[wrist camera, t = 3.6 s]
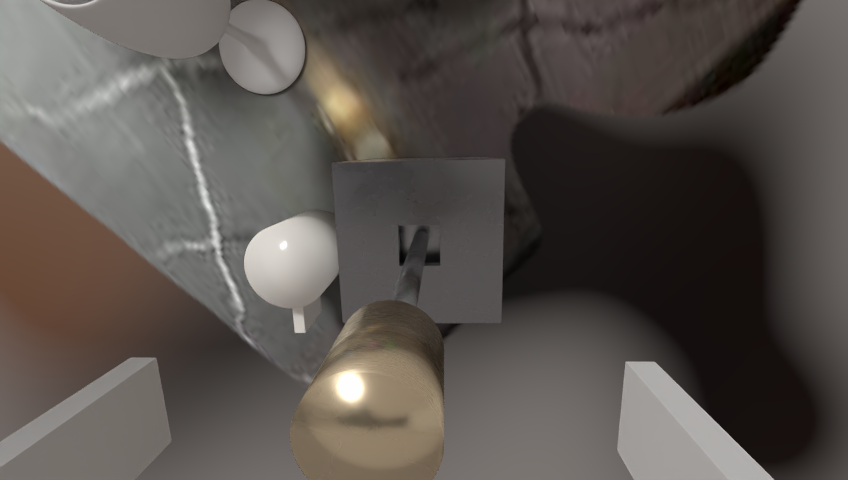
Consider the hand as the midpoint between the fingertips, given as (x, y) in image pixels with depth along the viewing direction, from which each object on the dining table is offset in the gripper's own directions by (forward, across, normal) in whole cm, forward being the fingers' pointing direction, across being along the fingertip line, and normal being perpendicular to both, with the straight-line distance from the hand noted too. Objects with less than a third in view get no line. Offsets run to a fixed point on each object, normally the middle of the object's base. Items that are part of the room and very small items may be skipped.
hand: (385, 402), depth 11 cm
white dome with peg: (+32, -12, -4) cm, 34 cm away
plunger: (+21, 0, 0) cm, 21 cm away
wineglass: (+32, -16, +18) cm, 40 cm away
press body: (+31, 0, 0) cm, 32 cm away
